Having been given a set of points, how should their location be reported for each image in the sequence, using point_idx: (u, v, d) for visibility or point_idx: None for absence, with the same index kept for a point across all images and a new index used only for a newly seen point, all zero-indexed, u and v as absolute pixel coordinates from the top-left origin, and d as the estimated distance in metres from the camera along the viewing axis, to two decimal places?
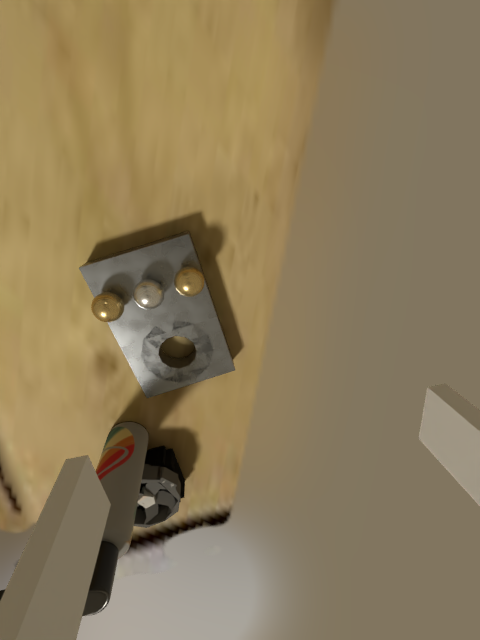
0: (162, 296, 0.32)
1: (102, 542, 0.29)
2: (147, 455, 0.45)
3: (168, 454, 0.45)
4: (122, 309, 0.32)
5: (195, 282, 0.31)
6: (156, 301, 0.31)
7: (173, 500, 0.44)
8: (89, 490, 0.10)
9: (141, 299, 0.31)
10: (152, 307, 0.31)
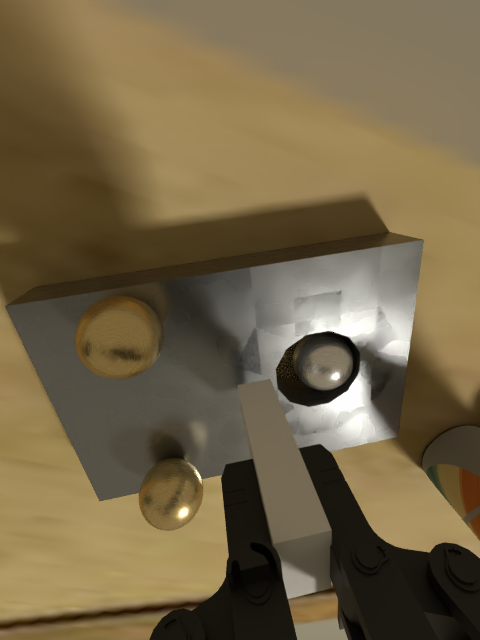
0: (333, 343, 0.15)
1: None
2: None
3: None
4: (177, 478, 0.14)
5: (101, 338, 0.10)
6: (340, 361, 0.15)
7: None
8: None
9: (325, 385, 0.15)
10: (349, 368, 0.15)
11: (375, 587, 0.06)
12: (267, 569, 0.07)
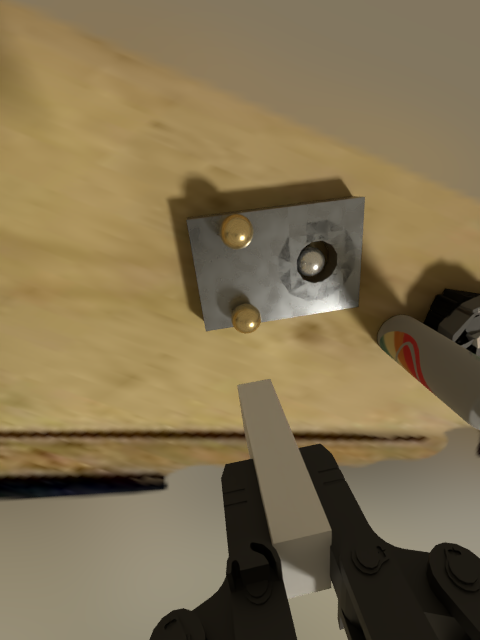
0: (310, 250, 0.32)
1: None
2: (434, 315, 0.39)
3: (449, 294, 0.38)
4: (250, 306, 0.31)
5: (236, 225, 0.27)
6: (308, 258, 0.32)
7: None
8: None
9: (301, 269, 0.32)
10: (314, 264, 0.32)
11: (375, 587, 0.06)
12: (267, 569, 0.07)
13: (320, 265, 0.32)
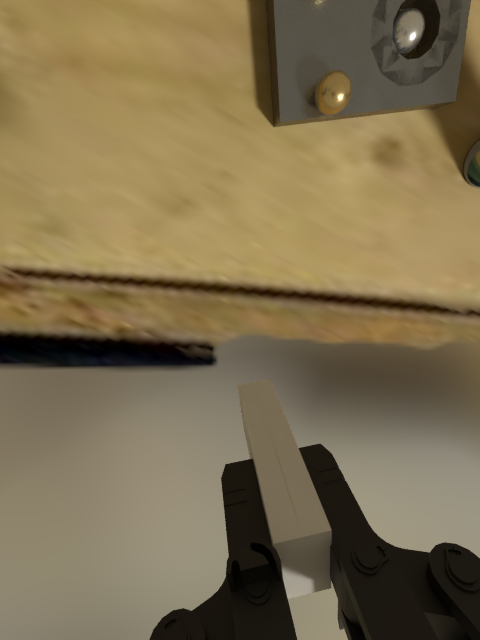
0: (410, 8, 0.27)
1: None
2: None
3: None
4: (341, 70, 0.26)
5: None
6: (409, 15, 0.26)
7: None
8: None
9: (397, 36, 0.27)
10: (415, 23, 0.26)
11: (375, 587, 0.06)
12: (267, 569, 0.07)
13: (421, 28, 0.27)
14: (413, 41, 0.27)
